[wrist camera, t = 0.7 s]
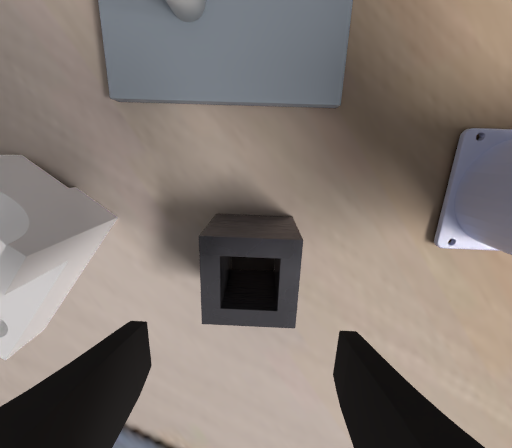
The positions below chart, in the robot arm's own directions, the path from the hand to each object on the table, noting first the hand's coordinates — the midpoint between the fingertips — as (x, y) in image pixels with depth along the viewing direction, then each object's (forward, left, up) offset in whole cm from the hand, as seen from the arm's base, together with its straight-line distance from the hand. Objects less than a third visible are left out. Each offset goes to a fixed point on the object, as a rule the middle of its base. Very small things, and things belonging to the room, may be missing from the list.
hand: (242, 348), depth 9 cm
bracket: (+17, +1, -10) cm, 20 cm away
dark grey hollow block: (0, 0, -10) cm, 10 cm away
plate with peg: (+2, -15, -10) cm, 18 cm away
